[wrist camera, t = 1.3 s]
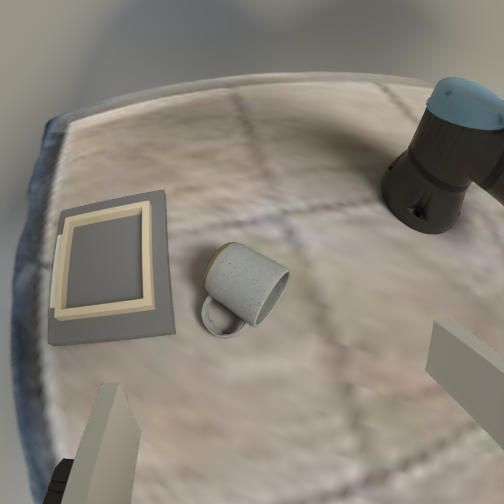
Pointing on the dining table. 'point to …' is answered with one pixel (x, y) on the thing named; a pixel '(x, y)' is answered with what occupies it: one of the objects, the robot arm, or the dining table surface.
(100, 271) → the charcoal pocket board
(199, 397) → the dining table surface
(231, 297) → the ceramic mug
